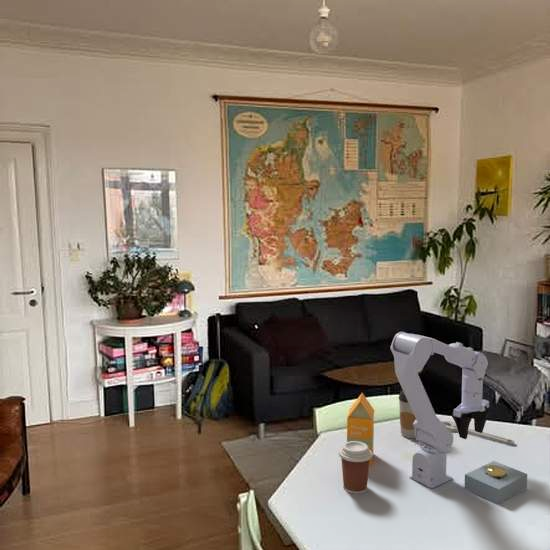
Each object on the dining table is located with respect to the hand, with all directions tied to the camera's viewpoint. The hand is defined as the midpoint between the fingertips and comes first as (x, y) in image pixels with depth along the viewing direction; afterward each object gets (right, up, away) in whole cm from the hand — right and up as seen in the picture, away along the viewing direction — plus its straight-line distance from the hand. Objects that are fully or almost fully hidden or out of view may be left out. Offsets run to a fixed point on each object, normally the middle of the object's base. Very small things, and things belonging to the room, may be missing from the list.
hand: (470, 434), depth 155 cm
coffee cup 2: (-12, -8, +24) cm, 28 cm away
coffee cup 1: (-37, -11, -12) cm, 40 cm away
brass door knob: (+2, -11, -12) cm, 17 cm away
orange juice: (-32, -10, +6) cm, 34 cm away
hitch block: (+2, -11, -13) cm, 17 cm away
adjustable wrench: (+10, -8, +24) cm, 27 cm away
